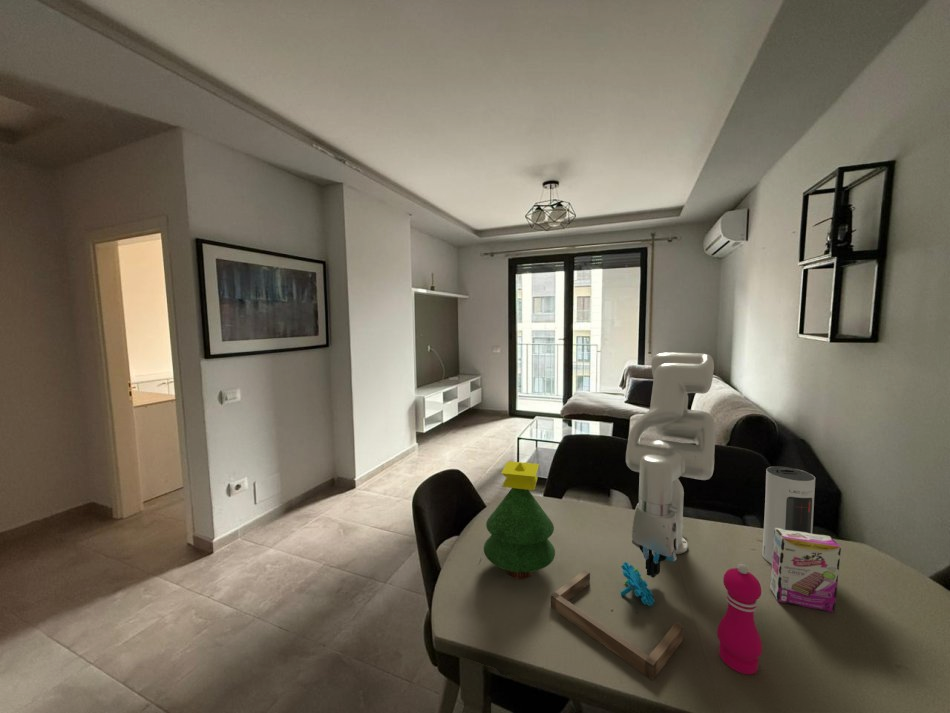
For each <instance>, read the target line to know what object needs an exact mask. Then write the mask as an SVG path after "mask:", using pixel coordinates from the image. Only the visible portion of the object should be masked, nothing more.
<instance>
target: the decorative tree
mask: <svg viewBox="0 0 950 713" xmlns="http://www.w3.org/2000/svg"><path fill="white" fill-rule="evenodd" d="M539 466H540V463H531V462H520V461H510V460H507V462H506V463H505V465H504V467H503V470H502V471H501V474H502V475H503V476H504V477H505V479H504V481H503V483H502V486H501V488H509V489H510V490H509V491H508V492H507V494H506V495H505V496H504V497H503V499H502V500H501V502H500V503H499V504H498V506H497V507H496V508H495V510H494V511H493V512H492V513H491V514H490V515H489V517H488V518H487V520H486V524H485V526H486V530H487V531H488V533H489V534H490V536H489V537H488V538H487V540H486V541H485V542H484V543H483V553H484V556H486V557H485V558H486V559H487V560H488V561H489V562H490V563H492V564H493V565H494V566H496V567H498V568H500V569H503V570H504V571H505V573H506V575H507V576H509V577H510V578H512V579H514V580H525V579H528V578H529V577H531V576H532V573H533V572H537V571H539V570H543V569H544V568H545V569H546V567H548V566H549V565H550V564H552V562H553V561H554V559H555V558H556V550H555V547H554V545H553V544H552V542H551V541H550V539H549V538H550V537H551V536H552V534H553V533H554V530H555V525H554V523H553V521H552V520H551V519H550V518H549V516H548V515H547V514H546V512H545V511H544V509H543V508H542V507H541V505H540V504H539V502H538V501H537V499H536V498H535V497H534V495H533V494H532V493H531V492H530V491H535V489H536V485H537V481H538V476H537V473H538V470H539Z"/></svg>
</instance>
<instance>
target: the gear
mask: <svg viewBox="0 0 950 713" xmlns="http://www.w3.org/2000/svg"><path fill="white" fill-rule="evenodd" d="M620 567H621V568H622V570H623V571H622V575H623V576H624V577H625V578H626V580H625V581H624V584H625V585H627V587H625V588H624V589H623V590H621V591H620V594H621V596H623V597H625V596H626V595H627V594H629V593H630V592H632V591H633V593H634V594H635V596H636V597H639V596H641V598H640V601H641V602H642V604H644V605H647V607H652V606H654V603H655V602H656V601H655V599H654V598H653V595H654V594H653V592H652V590H650V589H649V587H648V586H649V585H648V583H647V581H646V580H643V577H642V575H641V573H640V570H639V568H638V567H636V568H635V566H634V565H633V564H629V562H627V561H625V562H623V564H622V565H621V566H620Z"/></svg>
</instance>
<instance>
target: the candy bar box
mask: <svg viewBox="0 0 950 713" xmlns="http://www.w3.org/2000/svg"><path fill="white" fill-rule="evenodd" d="M841 553H842V546H841V545H840V544H839V543H837V541H835V540H834V539H833V538H832V537H831V536H830V535H825V534H820V533H819V534H818V533H814V532H812V533H806V532H799V531H793V530H786V529H780V528H775V530H774V542H773V554H772V564H771V568H770V571H771V572H770V579H769V580H770V583H769V590H770V591H771V593H772V595H773V596H774V598H775V600H776V601H777V602H778V603H784V604H790V605H793V606H794V605H795V606H799V607H804V608H809V609H815V610H817V611H818V610H819V611H825V612H828V613H835V611H836V601H837V592H838V591H837V590H838V583H839V582H838V579H839V571H840V562H841V561H840V560H841Z"/></svg>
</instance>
